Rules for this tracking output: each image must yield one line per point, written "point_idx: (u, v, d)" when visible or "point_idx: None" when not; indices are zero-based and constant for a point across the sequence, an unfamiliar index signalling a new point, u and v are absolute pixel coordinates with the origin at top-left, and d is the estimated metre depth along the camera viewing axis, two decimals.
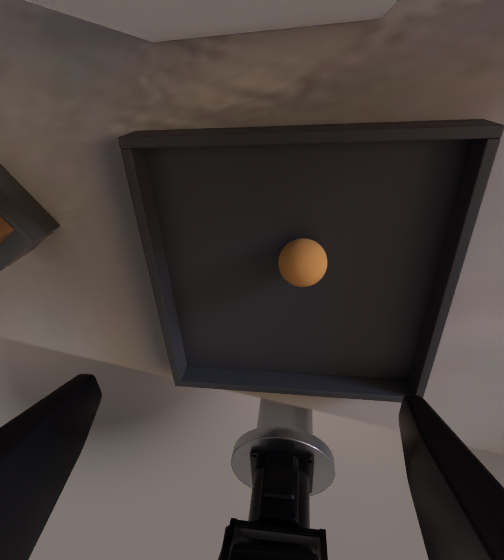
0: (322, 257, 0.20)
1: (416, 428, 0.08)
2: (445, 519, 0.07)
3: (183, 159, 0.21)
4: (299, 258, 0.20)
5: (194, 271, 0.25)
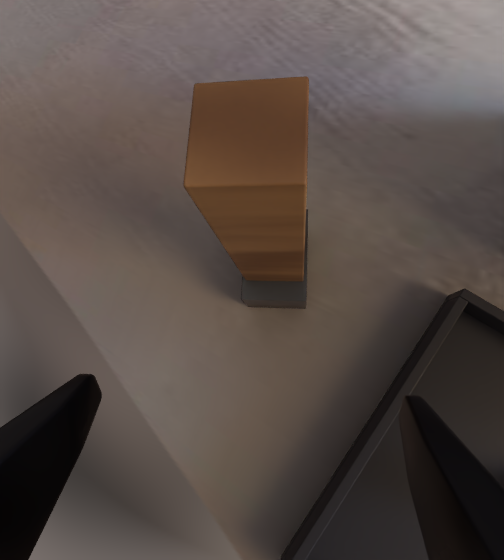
0: None
1: (416, 428, 0.08)
2: (445, 519, 0.07)
3: (482, 340, 0.21)
4: None
5: None
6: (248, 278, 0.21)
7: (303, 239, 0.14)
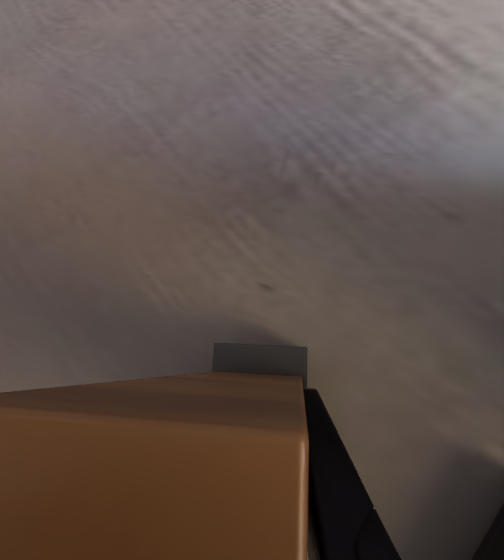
0: None
1: None
2: (308, 504, 0.07)
3: None
4: None
5: None
6: None
7: None
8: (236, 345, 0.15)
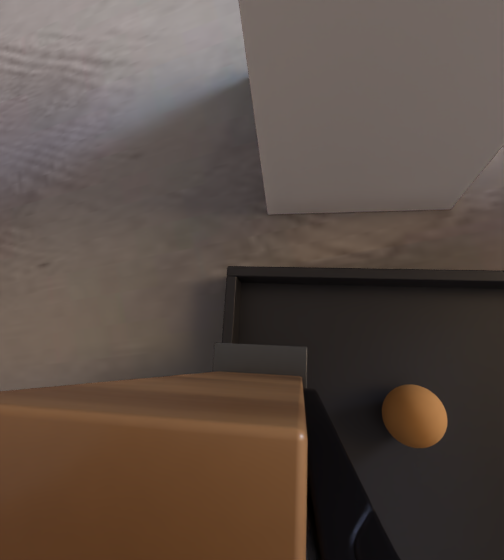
0: (441, 404, 0.17)
1: None
2: (307, 504, 0.07)
3: (277, 299, 0.21)
4: (416, 398, 0.17)
5: None
6: None
7: None
8: (236, 345, 0.15)
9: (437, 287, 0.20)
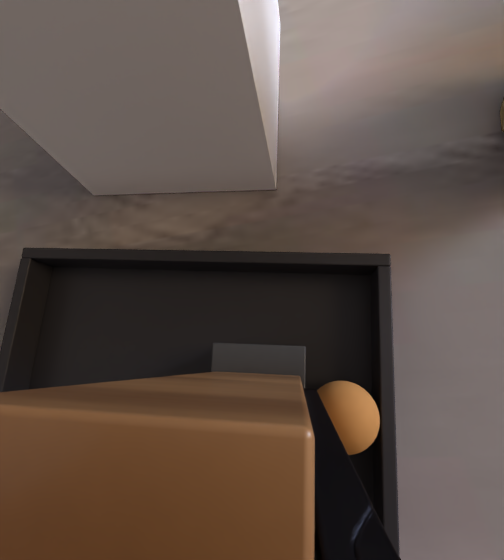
0: (328, 402, 0.14)
1: None
2: None
3: (86, 284, 0.20)
4: None
5: None
6: None
7: None
8: (234, 345, 0.15)
9: (246, 272, 0.19)
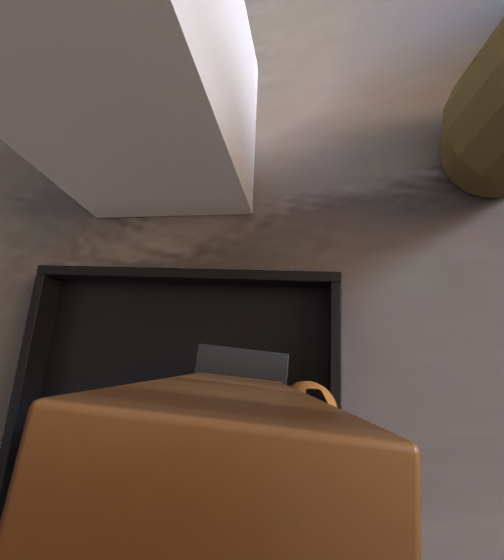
0: None
1: None
2: None
3: (90, 295, 0.23)
4: None
5: None
6: None
7: None
8: (220, 347, 0.15)
9: (226, 285, 0.22)
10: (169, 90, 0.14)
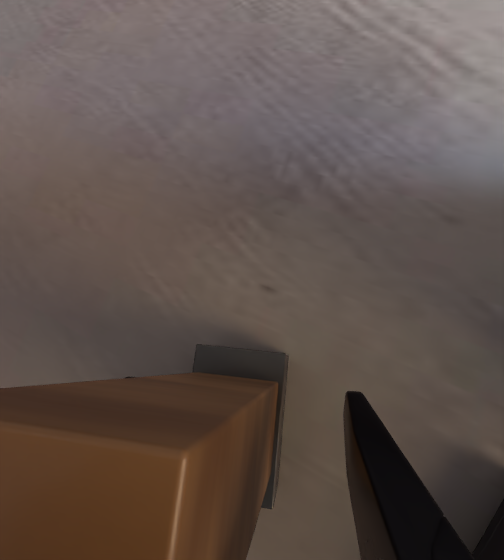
0: None
1: (350, 423, 0.08)
2: (367, 510, 0.07)
3: None
4: None
5: None
6: None
7: None
8: (217, 347, 0.15)
9: None
10: None
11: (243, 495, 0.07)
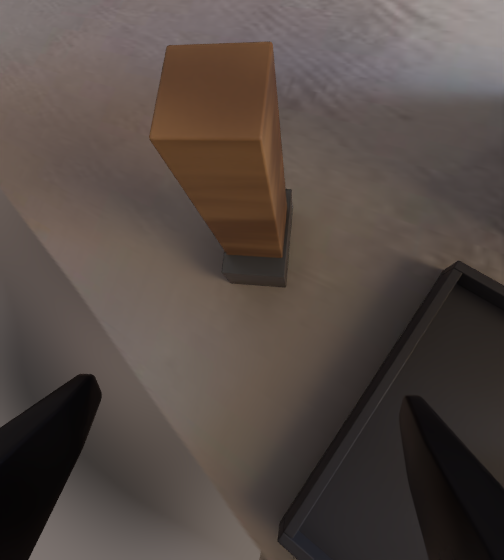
0: None
1: (416, 428, 0.08)
2: (445, 519, 0.07)
3: (476, 312, 0.22)
4: None
5: None
6: (229, 252, 0.22)
7: (271, 205, 0.15)
8: None
9: None
10: None
11: (276, 160, 0.15)
